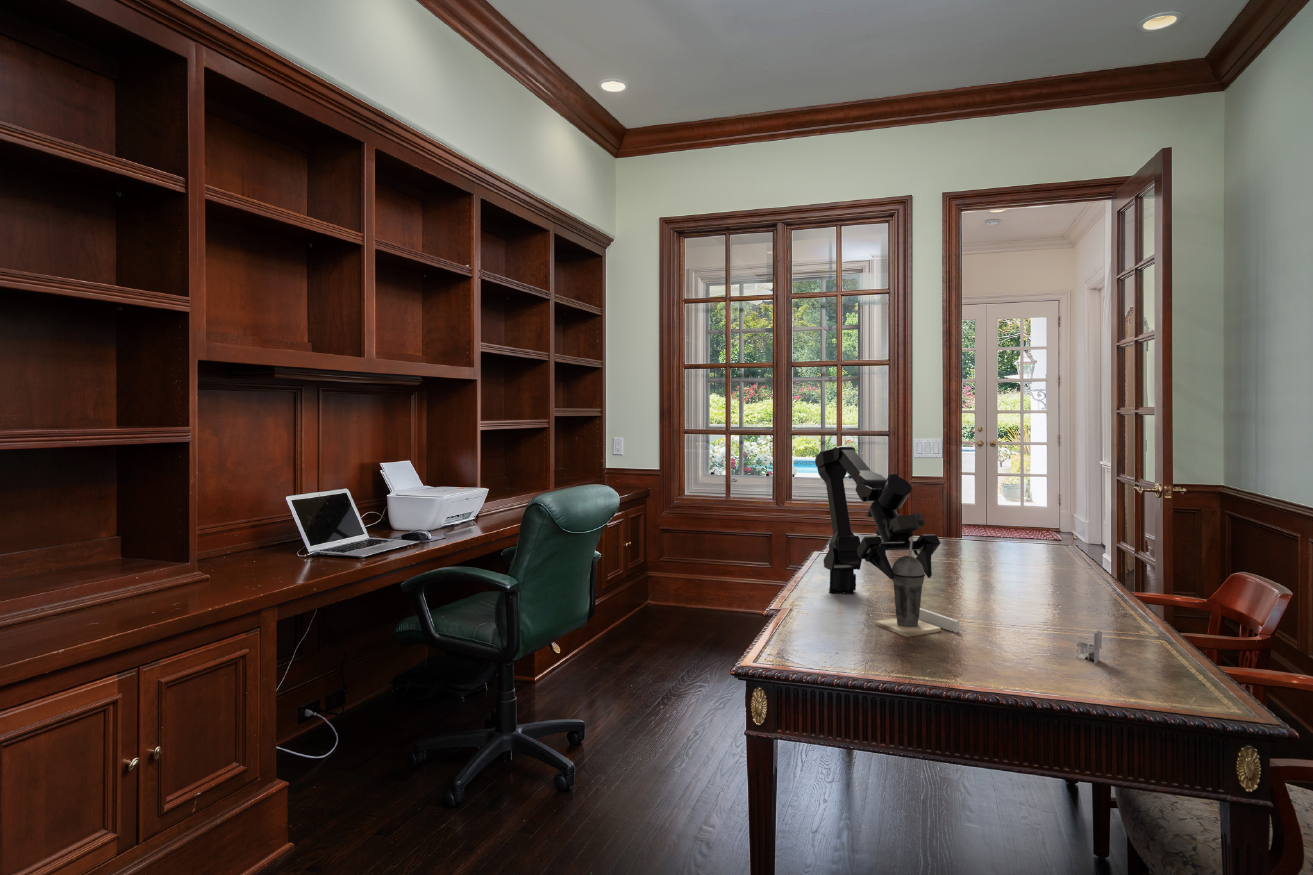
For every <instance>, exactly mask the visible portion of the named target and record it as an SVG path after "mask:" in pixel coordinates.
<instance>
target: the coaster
mask: <svg viewBox="0 0 1313 875" xmlns="http://www.w3.org/2000/svg"><path fill="white" fill-rule="evenodd" d="M874 625H875V626H878V627H881V628H883V629H886V630H888V631H890V632H894V633H895V634H899V635H901V636H904V637H906V638H910V637H914V636H922V635H927V634H932V633H933V634H934V633H938V632H939V631H940V632H941V631H942V628H941V627H938V626H936V625H933V624H930V623H927V622H924V621H922V620H919V619H918V626H916V627H905V626H901V625H898V624H897V618H896V617H892V618H887V619H886V618H885V619H880V620H874Z"/></svg>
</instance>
